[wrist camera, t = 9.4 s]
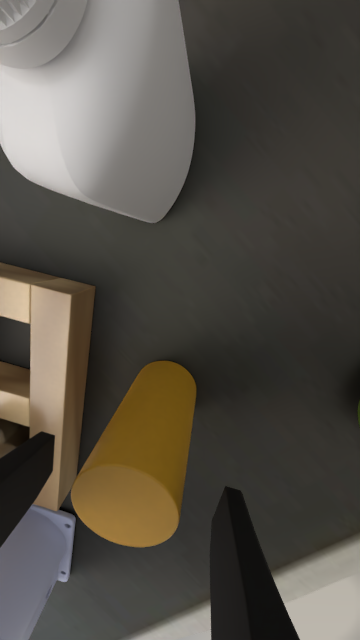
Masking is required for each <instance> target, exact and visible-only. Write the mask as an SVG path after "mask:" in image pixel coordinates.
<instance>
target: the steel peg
mask: <svg viewBox="0 0 360 640" xmlns="http://www.w3.org/2000/svg"><path fill="white" fill-rule="evenodd" d="M28 439H30V426H29V427H28V426H25V425H21V424H18V423H15V422H11V421H8V420H5V419H1V418H0V458H1V457H3V456H4V455H6V454H7V453H9V452H10V451H12V450H13V449H15V448H16V447H18V446H19V445H21V444H22V443H24V442H25V441H27V440H28Z"/></svg>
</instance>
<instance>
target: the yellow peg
mask: <svg viewBox="0 0 360 640" xmlns="http://www.w3.org/2000/svg"><path fill="white" fill-rule="evenodd" d="M196 391H197V389H196V384H195V381H194V379H193V377H192V375H191V374H190V373H189V372H188V371H187V370H186V369H185V368H184V367H182V366H181V365H179V364H177V363H174V362H171V361H155V362H152V363H150V364H148V365H146V366H145V367H144V368H142V370H141V371H140V372H139V374H138V375H137V377H136V379H135V380H134V382H133V384H132V385H131V387H130V389H129V390H128V392H127V394H126V395H125V397H124V399H123V400H122V402H121V404H120V405H119V407H118V409H117V410H116V412H115V414H114V415H113V417H112V419H111V420H110V422H109V424H108V425H107V427H106V429H105V430H104V432H103V434H102V435H101V437H100V439H99V440H98V442H97V444H96V445H95V447H94V449H93V450H92V452H91V454H90V455H89V457H88V459H87V460H86V462H85V464H84V465H83V467H82V469H81V470H80V472H79V474H78V475H77V477H76V479H75V480H74V483H73V485H72V490H71V500H72V504H73V507H74V509H75V511H76V513H77V515H78V516H79V518H80V519H81V520H82V521H83V523H84V524H85V525H86V526H87V527H89V528H90V529H91V530H92V531H94V532H95V533H97V534H98V535H100V536H101V537H103V538H105V539H107V540H109V541H112V542H115V543H117V544H121V545H125V546H131V547H149V546H154V545H157V544H160V543H162V542H164V541H166V540H167V539H169V538H170V537H171V536H172V535H173V534H174V532H175V531H176V529H177V527H178V524H179V520H180V513H181V505H182V498H183V490H184V483H185V475H186V468H187V460H188V453H189V445H190V438H191V430H192V423H193V415H194V408H195V400H196Z"/></svg>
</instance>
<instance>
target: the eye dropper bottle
mask: <svg viewBox="0 0 360 640" xmlns="http://www.w3.org/2000/svg"><path fill="white" fill-rule="evenodd" d="M194 138H195V106H194V97H193V91H192V84H191V78H190V71H189V65H188V58H187V52H186V45H185V39H184V33H183V26H182V20H181V14H180V8H179V1H178V0H0V144H1V146H2V149H3V151H4V153H5V154H6V156H7V158H8V159H9V161H10V163H11V164H12V166H13V167H14V168H15V169H16V170H17V171H18V172H19V173H20V174H22V175H23V176H24V177H25V178H27V179H28V180H30V181H32V182H34V183H36V184H38V185H40V186H43V187H45V188H47V189H50V190H53V191H55V192H58V193H61V194H64V195H66V196H69V197H72V198H75V199H78V200H81V201H83V202H86V203H89V204H92V205H95V206H98V207H101V208H104V209H107V210H110V211H113V212H116V213H120V214H123V215H126V216H129V217H132V218H135V219H138V220H142V221H145V222H148V223H156V222H158V221H160V220H161V219H162V218H163V217H164V216H165V215H166V214H167V212H168V211H169V210H170V208H171V207H172V205H173V204H174V202H175V200H176V199H177V197H178V195H179V193H180V191H181V189H182V187H183V185H184V182H185V179H186V177H187V174H188V171H189V167H190V163H191V159H192V154H193V147H194Z"/></svg>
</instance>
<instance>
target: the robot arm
mask: <svg viewBox="0 0 360 640" xmlns="http://www.w3.org/2000/svg"><path fill="white" fill-rule="evenodd" d="M54 445H55V435H53V434H49V433H46V432H43V431H41V432H39V433H37V434H36V435H34V436H33V437H31V438H30V439H28V440H27V441H25V442H24V443H22V444H21V445H19V446H18V447H16V448H15V449H13V450H12V451H10V452H9V453H7V454H6V455H4V456H3V457H1V458H0V640H29V637H30V635H31V633H32V631H33V629H34V627H35V625H36V623H37V621H38V619H39V616H40V614H41V612H42V610H43V608H44V606H45V604H46V602H47V600H48V597H49V595H50V593H51V591H52V589H53V587H54V585H55V583H56V581H57V580H59V581H62V582H66V581H68V578H69V576H70V568H71V558H72V549H73V540H74V530H75V521H76V518H75V516H74V515H73V514H70V513H67V512H64V511H61V510H58V511H54V510H50V509H47V508H44V507H41V506H38V505H35V504H33V503H34V501H35V500H36V498H37V497H38V495H39V494H40V492H41V490H42V489H43V487H44V485H45V484H46V482H47V480H48V479H49V477H50V475H51V474H52V472H53V462H54ZM210 593H211V640H300V639H299V637H298V635H297V632H296V630H295V628H294V626H293V624H292V622H291V619H290V617H289V615H288V612H287V610H286V608H285V606H284V603H283V601H282V599H281V596H280V594H279V592H278V589H277V587H276V584H275V582H274V579H273V577H272V575H271V572H270V570H269V567H268V564H267V562H266V559H265V557H264V554H263V552H262V549H261V546H260V544H259V541H258V538H257V535H256V533H255V530H254V527H253V524H252V521H251V518H250V515H249V512H248V509H247V506H246V503H245V500H244V497H243V494H242V492H241V491H240V490H237V489H233V488H230V487H227V486H225V489H224V491H223V494H222V496H221V499H220V501H219V504H218V506H217V509H216V512H215V514H214V517H213V519H212V528H211V543H210Z"/></svg>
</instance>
